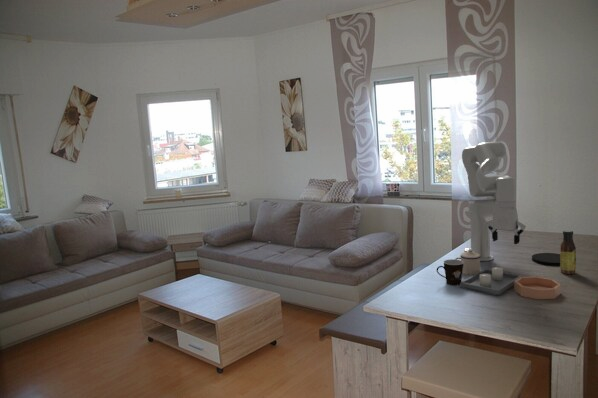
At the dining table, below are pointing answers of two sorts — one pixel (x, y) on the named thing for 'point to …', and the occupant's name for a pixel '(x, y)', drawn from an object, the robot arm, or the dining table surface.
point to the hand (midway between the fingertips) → (505, 242)
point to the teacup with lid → (470, 262)
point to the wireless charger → (547, 259)
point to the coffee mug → (452, 271)
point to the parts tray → (496, 286)
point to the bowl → (537, 287)
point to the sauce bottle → (568, 253)
